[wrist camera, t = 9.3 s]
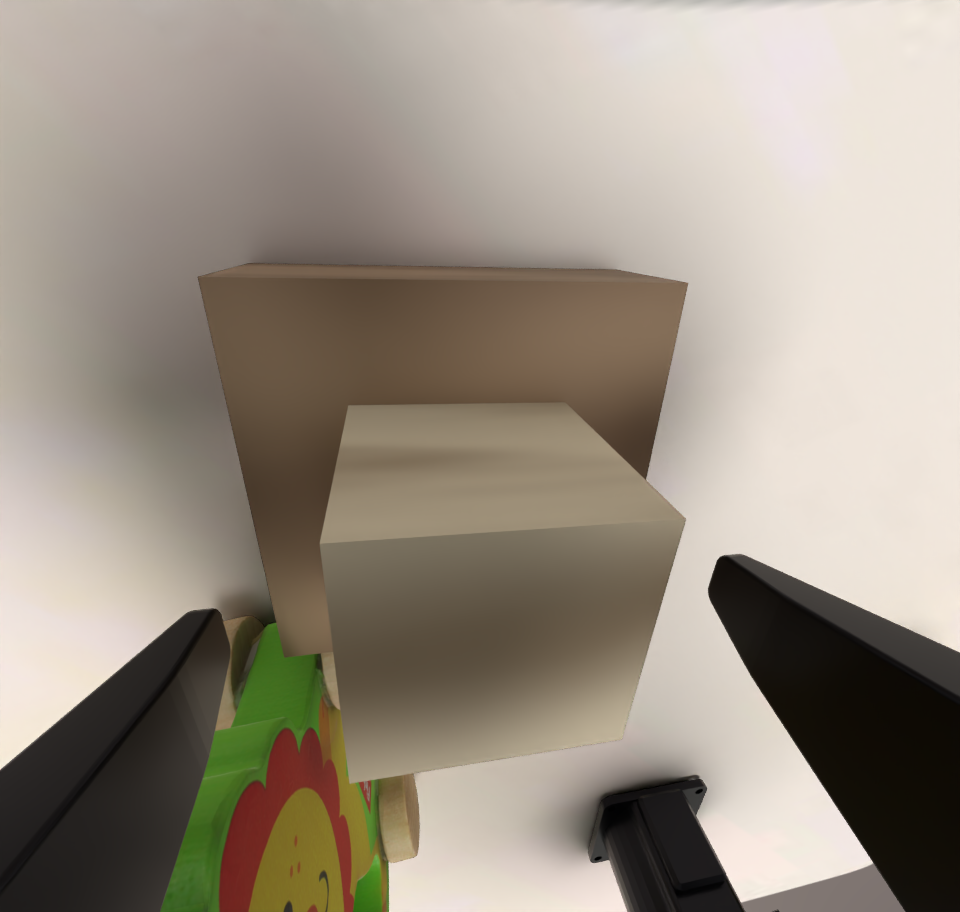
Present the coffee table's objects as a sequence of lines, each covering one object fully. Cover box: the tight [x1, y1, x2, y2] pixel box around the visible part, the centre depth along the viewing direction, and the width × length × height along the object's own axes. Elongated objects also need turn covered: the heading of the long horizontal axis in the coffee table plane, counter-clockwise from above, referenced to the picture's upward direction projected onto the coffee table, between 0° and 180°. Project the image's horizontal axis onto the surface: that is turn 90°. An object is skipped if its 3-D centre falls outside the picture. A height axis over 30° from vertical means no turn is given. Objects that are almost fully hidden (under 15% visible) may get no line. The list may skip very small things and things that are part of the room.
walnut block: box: [198, 263, 688, 658], centre depth 13 cm, size 10×10×4 cm
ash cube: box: [320, 402, 686, 784], centre depth 9 cm, size 5×5×5 cm
